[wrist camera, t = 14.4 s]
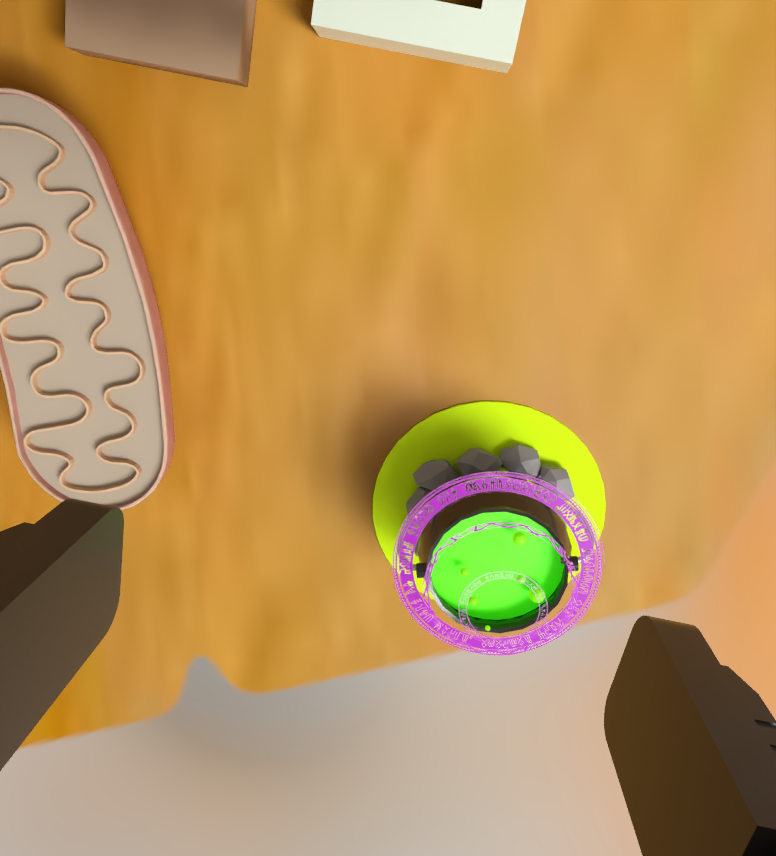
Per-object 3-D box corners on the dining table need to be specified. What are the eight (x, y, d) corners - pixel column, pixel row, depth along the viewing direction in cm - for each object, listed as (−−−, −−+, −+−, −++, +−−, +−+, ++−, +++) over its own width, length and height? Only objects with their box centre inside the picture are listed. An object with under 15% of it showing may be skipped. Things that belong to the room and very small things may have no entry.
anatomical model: (-31, 115, 37) (-99, 102, 32) (135, 88, 36) (90, 70, 31) (80, 485, 44) (37, 519, 39) (222, 472, 43) (195, 505, 38)
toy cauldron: (606, 391, 39) (667, 457, 29) (604, 605, 44) (655, 728, 34) (360, 408, 41) (333, 477, 31) (383, 613, 46) (367, 734, 35)
